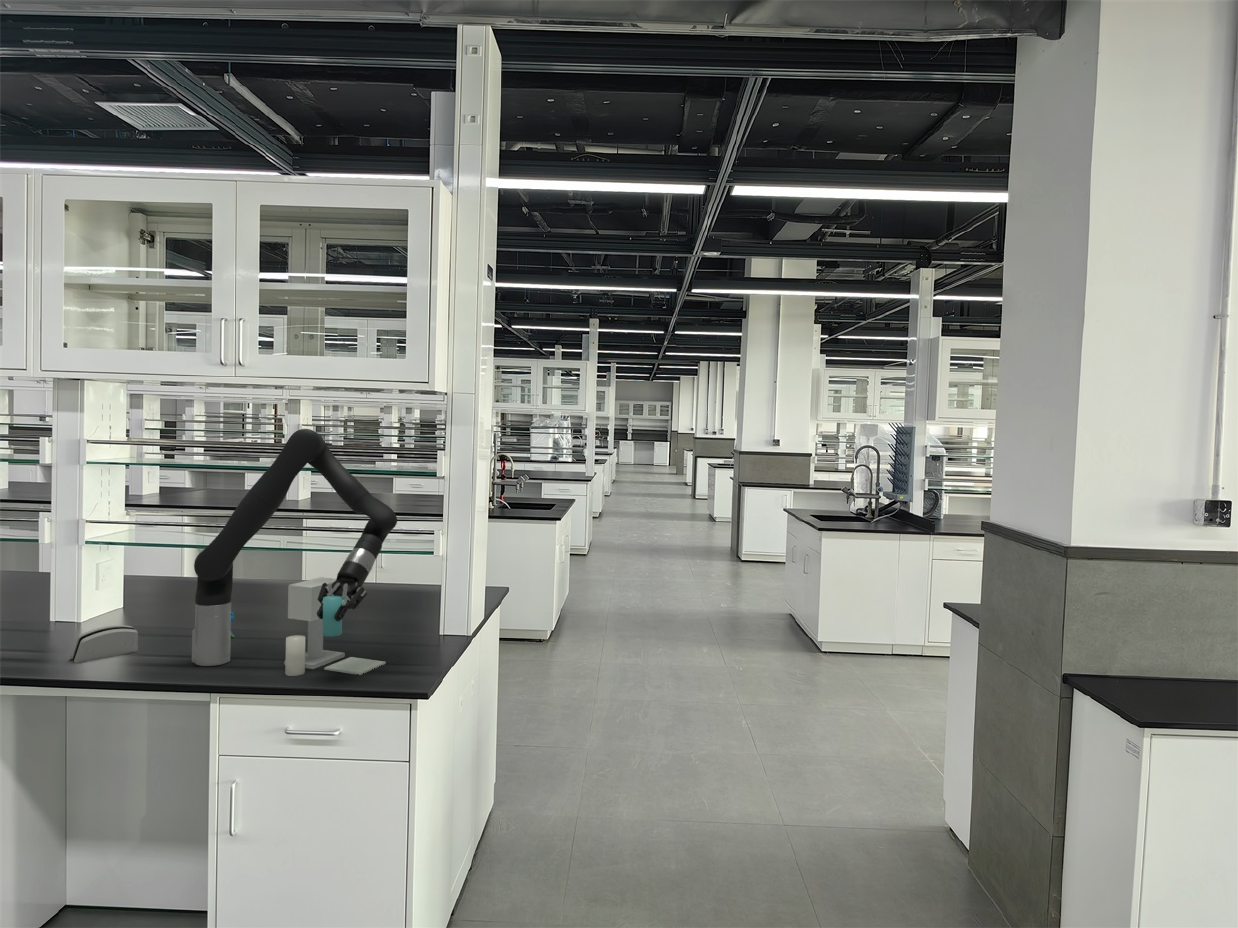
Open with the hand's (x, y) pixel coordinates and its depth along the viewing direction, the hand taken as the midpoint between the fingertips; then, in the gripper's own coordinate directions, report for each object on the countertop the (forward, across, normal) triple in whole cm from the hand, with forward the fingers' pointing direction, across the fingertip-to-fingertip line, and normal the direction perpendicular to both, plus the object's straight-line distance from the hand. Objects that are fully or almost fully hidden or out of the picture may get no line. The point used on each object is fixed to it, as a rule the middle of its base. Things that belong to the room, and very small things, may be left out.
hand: (328, 618), depth 220 cm
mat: (+2, -1, +22) cm, 22 cm away
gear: (-4, -59, +29) cm, 66 cm away
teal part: (+2, 0, +5) cm, 5 cm away
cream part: (+11, -12, +13) cm, 21 cm away
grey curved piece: (+18, -71, +7) cm, 74 cm away
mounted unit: (+2, -15, +22) cm, 26 cm away
